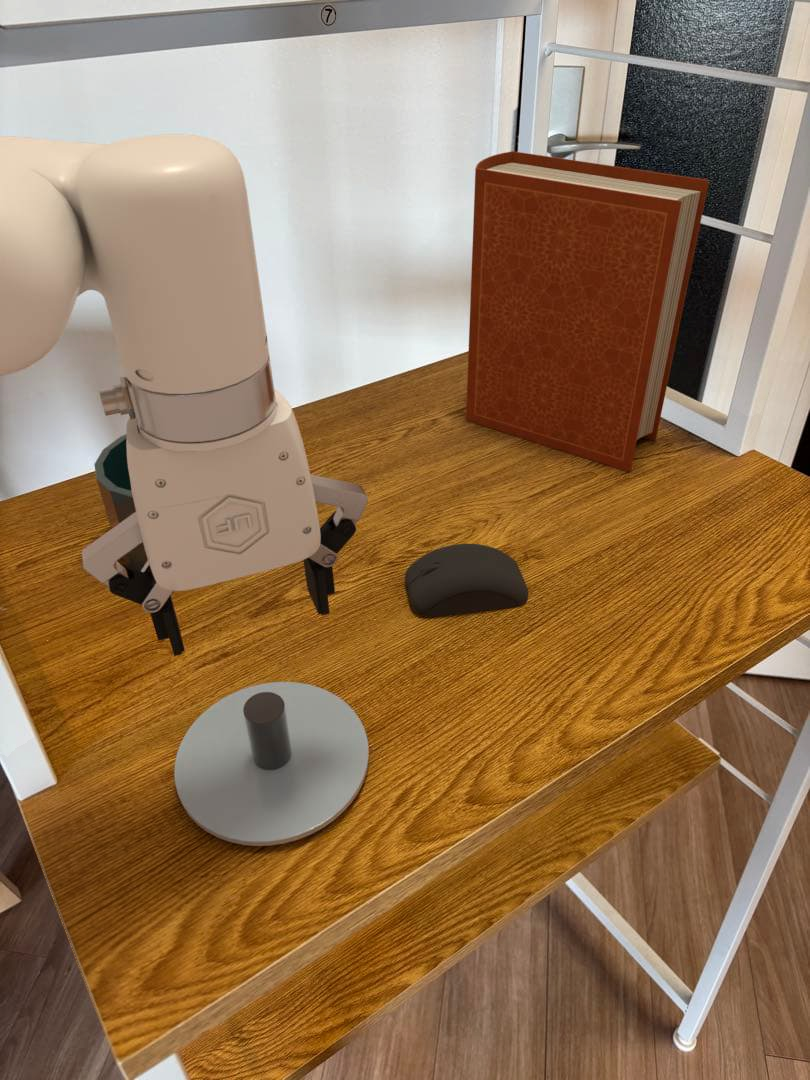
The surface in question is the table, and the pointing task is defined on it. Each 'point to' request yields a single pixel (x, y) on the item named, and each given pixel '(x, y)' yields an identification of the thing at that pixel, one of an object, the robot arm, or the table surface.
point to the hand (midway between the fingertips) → (249, 620)
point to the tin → (118, 492)
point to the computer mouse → (464, 581)
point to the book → (577, 300)
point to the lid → (271, 763)
